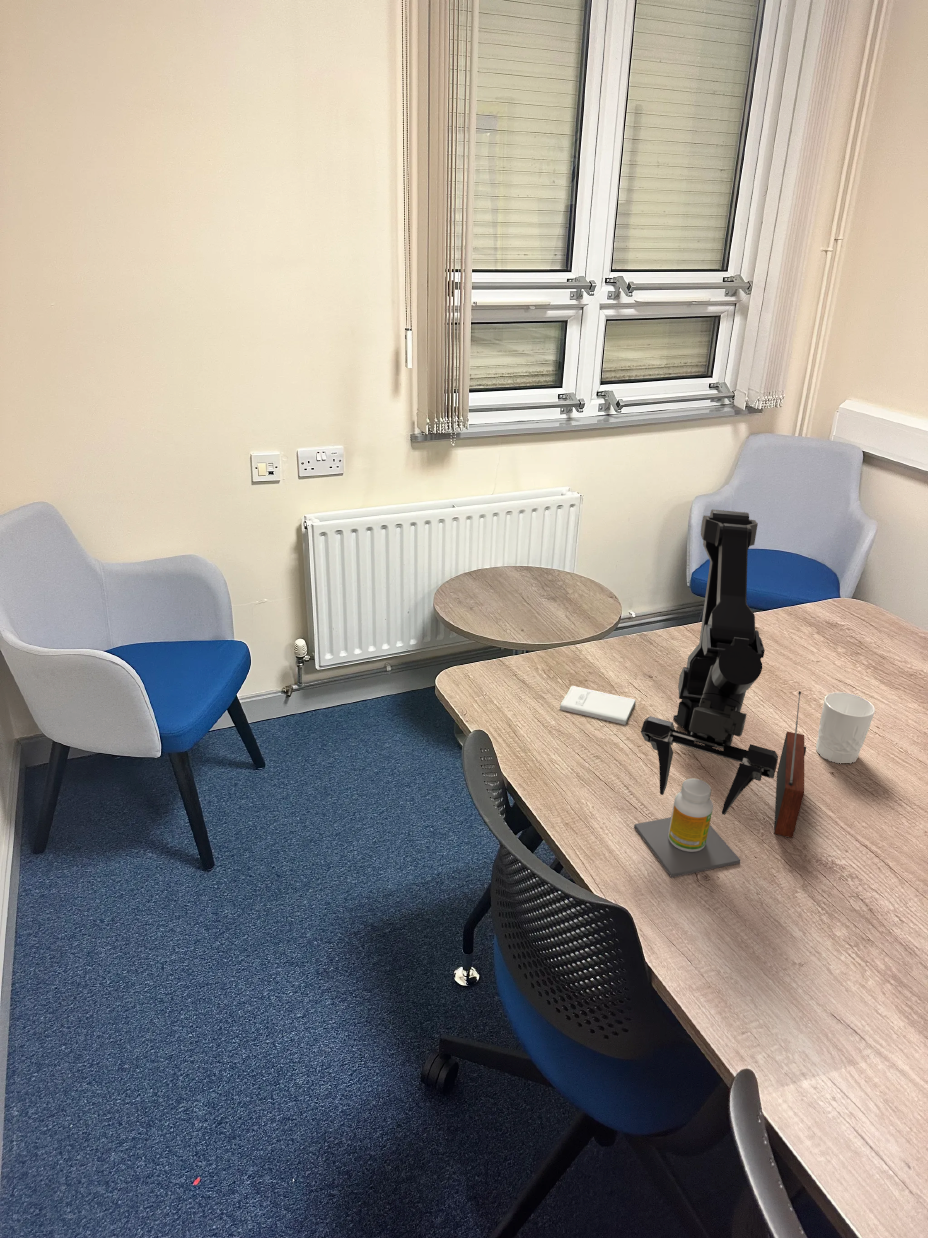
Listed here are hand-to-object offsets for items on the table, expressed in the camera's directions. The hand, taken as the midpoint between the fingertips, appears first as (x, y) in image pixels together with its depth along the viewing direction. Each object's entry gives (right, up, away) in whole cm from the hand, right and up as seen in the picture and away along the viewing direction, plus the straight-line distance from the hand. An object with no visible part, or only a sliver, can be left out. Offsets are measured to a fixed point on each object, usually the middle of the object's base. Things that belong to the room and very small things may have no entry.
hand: (691, 804), depth 117 cm
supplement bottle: (+1, -7, +5) cm, 8 cm away
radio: (+19, -3, +15) cm, 24 cm away
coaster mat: (0, -7, +5) cm, 8 cm away
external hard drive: (-7, +9, +39) cm, 41 cm away
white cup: (+33, +2, +27) cm, 43 cm away
